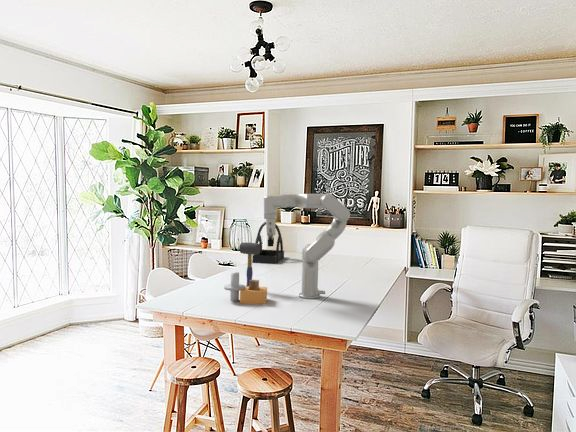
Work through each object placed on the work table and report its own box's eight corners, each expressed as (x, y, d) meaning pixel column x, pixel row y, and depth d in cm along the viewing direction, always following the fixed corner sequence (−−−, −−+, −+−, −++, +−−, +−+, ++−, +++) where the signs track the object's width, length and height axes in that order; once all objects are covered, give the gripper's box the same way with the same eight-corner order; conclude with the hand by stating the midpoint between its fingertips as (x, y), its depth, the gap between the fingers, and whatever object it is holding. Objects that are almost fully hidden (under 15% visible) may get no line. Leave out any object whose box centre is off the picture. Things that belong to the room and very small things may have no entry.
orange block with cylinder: (266, 298, 271) (267, 271, 270) (264, 304, 259) (265, 275, 258) (226, 297, 272) (226, 270, 271) (222, 302, 260) (222, 274, 259)
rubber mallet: (237, 289, 291) (238, 242, 289) (243, 287, 298) (244, 241, 296) (255, 292, 286) (256, 244, 284) (260, 289, 293) (261, 242, 291)
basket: (275, 264, 384) (276, 223, 381) (251, 263, 388) (252, 222, 386) (284, 257, 418) (285, 219, 415) (262, 256, 422) (262, 218, 420)
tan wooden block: (258, 300, 267) (259, 279, 266) (257, 302, 263) (257, 281, 262) (250, 300, 267) (250, 279, 266) (248, 301, 263) (249, 281, 262)
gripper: (276, 217, 264) (276, 247, 265) (277, 215, 281) (277, 243, 283) (263, 217, 264) (263, 247, 266) (264, 215, 281) (265, 243, 283)
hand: (270, 245), depth 274 cm, fingers open, 9 cm apart
